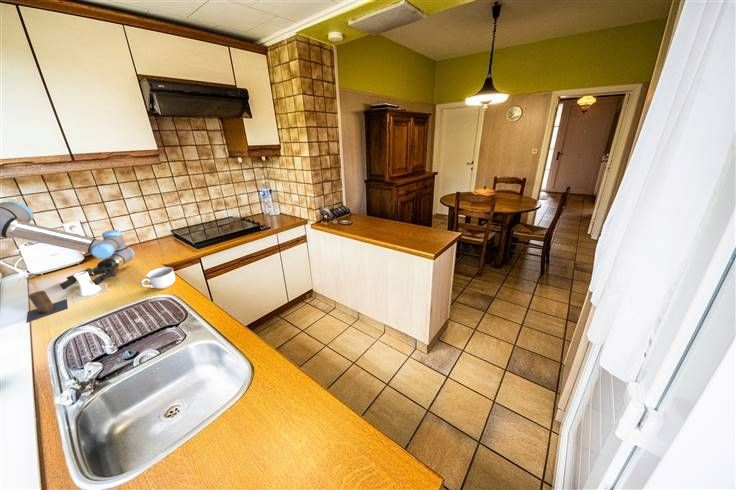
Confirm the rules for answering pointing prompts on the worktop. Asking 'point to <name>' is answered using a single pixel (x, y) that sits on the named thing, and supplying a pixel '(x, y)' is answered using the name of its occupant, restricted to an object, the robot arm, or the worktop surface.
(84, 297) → the cream mat
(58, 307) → the slate mat
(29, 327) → the worktop surface
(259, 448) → the worktop surface
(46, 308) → the pepper shaker
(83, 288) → the vase
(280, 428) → the worktop surface
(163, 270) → the teacup
